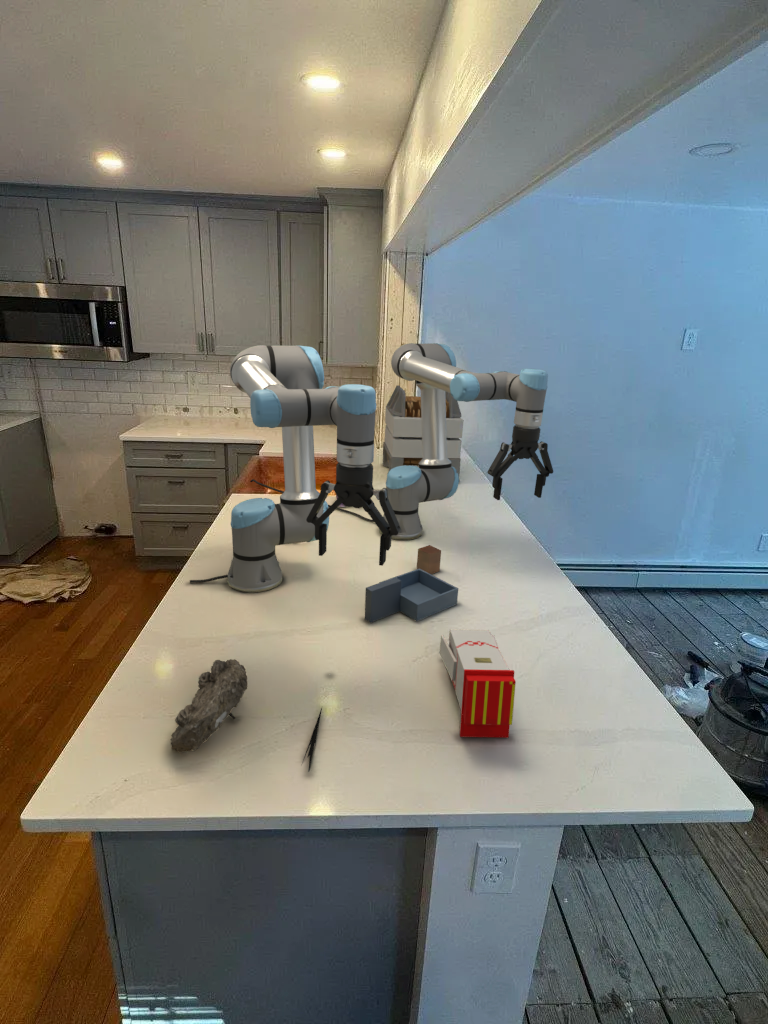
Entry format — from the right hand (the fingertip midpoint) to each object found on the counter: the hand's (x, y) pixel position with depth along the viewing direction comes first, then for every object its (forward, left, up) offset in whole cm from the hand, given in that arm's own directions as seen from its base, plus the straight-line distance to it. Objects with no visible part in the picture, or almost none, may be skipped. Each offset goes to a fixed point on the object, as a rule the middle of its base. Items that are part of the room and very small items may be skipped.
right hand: (517, 497), depth 167 cm
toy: (+32, -54, -24) cm, 67 cm away
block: (-15, -20, -24) cm, 34 cm away
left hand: (+5, -65, 0) cm, 65 cm away
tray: (-3, -41, -24) cm, 47 cm away
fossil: (+7, -99, -24) cm, 102 cm away
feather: (+20, -84, -24) cm, 89 cm away
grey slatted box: (-95, +53, -24) cm, 111 cm away
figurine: (-78, -4, -24) cm, 82 cm away
